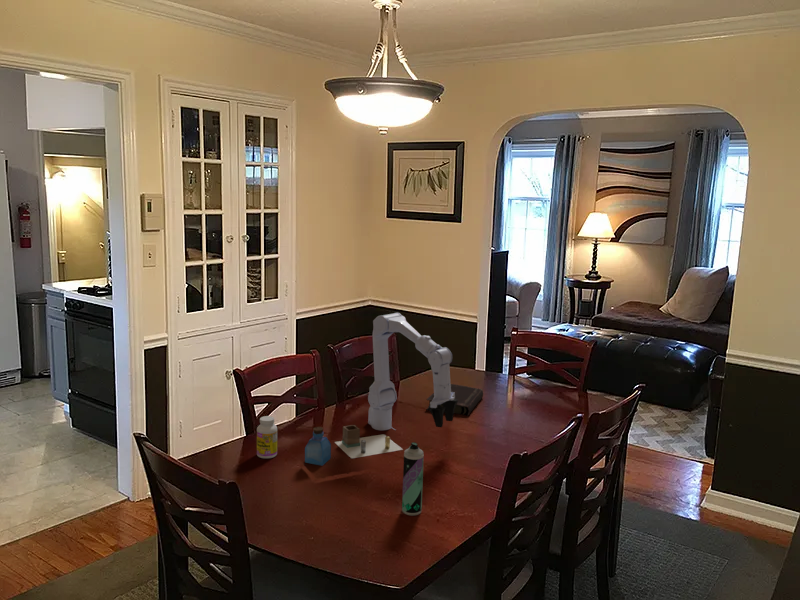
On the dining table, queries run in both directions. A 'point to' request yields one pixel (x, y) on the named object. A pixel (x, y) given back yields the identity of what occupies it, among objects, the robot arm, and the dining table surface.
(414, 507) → the spray can
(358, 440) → the walnut sleeve
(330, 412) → the dining table surface
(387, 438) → the brass pin
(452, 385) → the diary
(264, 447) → the supplement bottle
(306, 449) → the perfume bottle
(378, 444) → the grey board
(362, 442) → the steel pin
